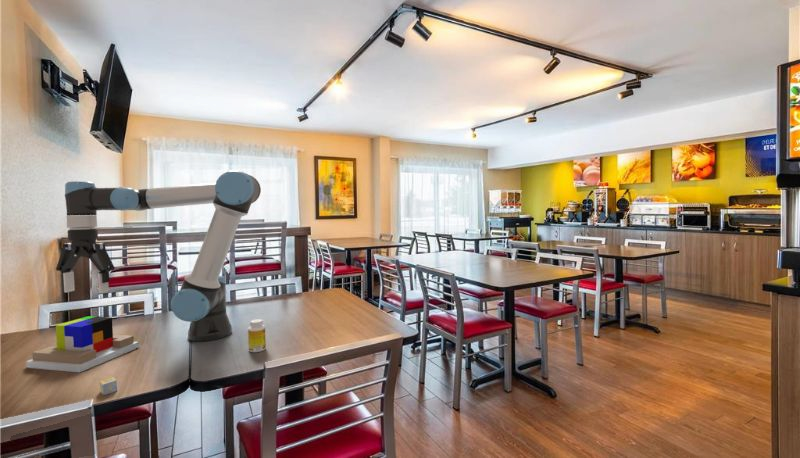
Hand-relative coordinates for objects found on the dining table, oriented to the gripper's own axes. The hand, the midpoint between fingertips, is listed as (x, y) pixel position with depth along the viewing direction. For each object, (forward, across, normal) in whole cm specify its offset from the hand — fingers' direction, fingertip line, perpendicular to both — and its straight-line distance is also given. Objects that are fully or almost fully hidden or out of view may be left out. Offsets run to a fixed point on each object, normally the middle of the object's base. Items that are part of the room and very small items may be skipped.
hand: (86, 292), depth 121 cm
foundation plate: (+21, 0, +2) cm, 21 cm away
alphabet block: (+22, -30, +20) cm, 42 cm away
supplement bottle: (+22, -54, -12) cm, 59 cm away
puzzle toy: (+20, 0, +2) cm, 20 cm away
